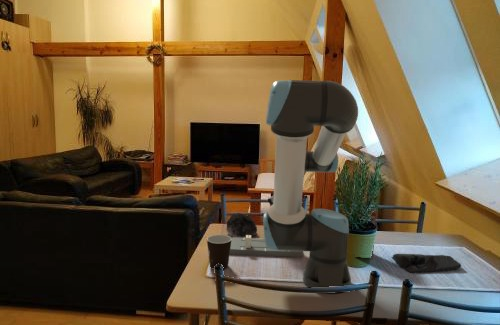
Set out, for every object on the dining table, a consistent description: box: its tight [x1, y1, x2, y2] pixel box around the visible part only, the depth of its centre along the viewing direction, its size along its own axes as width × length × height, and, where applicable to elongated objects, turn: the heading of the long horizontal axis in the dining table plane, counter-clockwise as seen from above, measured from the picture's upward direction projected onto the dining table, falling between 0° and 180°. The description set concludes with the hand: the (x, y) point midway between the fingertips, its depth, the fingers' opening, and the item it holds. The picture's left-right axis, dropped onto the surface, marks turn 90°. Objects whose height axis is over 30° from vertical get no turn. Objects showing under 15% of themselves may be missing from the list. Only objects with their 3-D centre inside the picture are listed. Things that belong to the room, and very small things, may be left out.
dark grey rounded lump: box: [225, 212, 258, 238], centre depth 156 cm, size 13×14×10 cm
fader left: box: [245, 235, 252, 248], centre depth 136 cm, size 3×2×4 cm, turn 177°
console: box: [230, 236, 303, 258], centre depth 139 cm, size 14×28×2 cm, turn 87°
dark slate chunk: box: [390, 253, 462, 274], centre depth 128 cm, size 15×22×5 cm
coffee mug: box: [206, 234, 232, 270], centre depth 124 cm, size 12×9×10 cm
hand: (282, 238), depth 142 cm, fingers closed
